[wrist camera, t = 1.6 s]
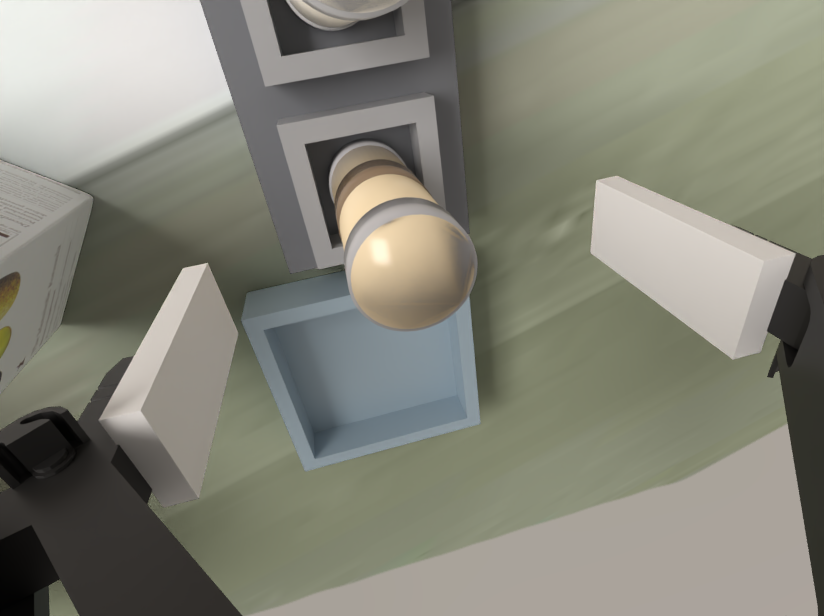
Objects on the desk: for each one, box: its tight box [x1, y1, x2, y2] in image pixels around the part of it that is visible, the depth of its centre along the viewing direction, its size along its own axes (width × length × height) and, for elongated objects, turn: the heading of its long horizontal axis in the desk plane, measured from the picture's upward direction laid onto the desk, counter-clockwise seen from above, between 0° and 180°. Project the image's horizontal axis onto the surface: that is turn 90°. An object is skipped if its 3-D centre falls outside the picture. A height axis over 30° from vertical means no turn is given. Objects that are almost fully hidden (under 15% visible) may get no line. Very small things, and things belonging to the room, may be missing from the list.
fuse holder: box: [200, 0, 470, 274], centre depth 18 cm, size 11×18×15 cm, turn 9°
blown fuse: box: [328, 138, 478, 332], centre depth 19 cm, size 4×4×12 cm
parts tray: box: [241, 270, 480, 471], centre depth 32 cm, size 14×14×4 cm
